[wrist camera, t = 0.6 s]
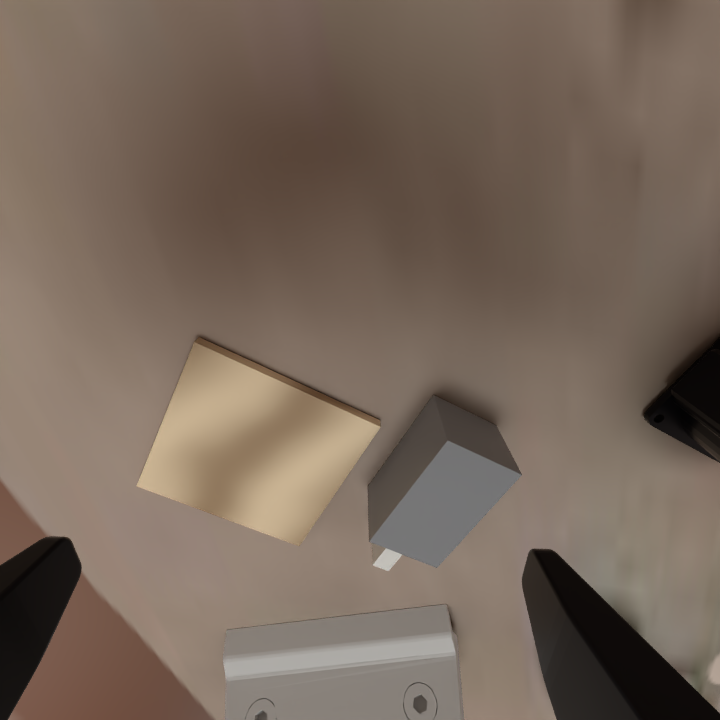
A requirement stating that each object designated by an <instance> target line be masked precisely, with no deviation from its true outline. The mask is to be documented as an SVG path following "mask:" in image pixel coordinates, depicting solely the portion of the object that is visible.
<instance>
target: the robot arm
mask: <svg viewBox="0 0 720 720" xmlns="http://www.w3.org/2000/svg"><path fill="white" fill-rule="evenodd" d="M657 415H658V416H657ZM656 416H657V417H656ZM655 417H656V418H655ZM644 418H645V420H646V421H647V422H648V423H649V424H650V425H651V426H653V427H655V428H657V429H659V430H661V431H662V432H664V433H666V434H668V435H670V436H672V437H673V438H675V439H677V440H679V441H681V442H683V443H684V444H686V445H688V446H690V447H692V448H694V449H696V450H697V451H699V452H701V453H703V454H705V455H707V456H708V457H710V458H712V459H714V460H716V461H718V462H719V463H720V338H719V339H718V340H717V341H716V342H715V343H714V344H713V345H712V346H711V347H710V348H709V349H708V350H707V351H706V352H705V353H704V354H703V355H702V356H701V357H700V358H699V359H698V360H697V361H696V362H695V363H694V364H693V365H692V366H691V367H690V368H689V369H688V370H687V371H686V372H685V373H684V374H683V375H682V376H681V377H680V378H679V379H678V380H677V381H676V382H675V383H674V384H673V385H672V386H671V387H670V388H669V389H668V390H667V391H666V392H665V393H664V394H663V395H662V396H661V397H660V398H659V399H658V400H657V401H656V402H655V403H654V404H653V405H652V406H651V407H650V408H649V409H648V410H647V411H646V412H645V415H644ZM81 569H82V567H81V562H80V560H79V557H78V555H77V553H76V550H75V548H74V545H73V543H72V541H71V540H70V539H69V538H68V537H55V536H50V537H45V538H43V539H41V540H39V541H38V542H36V543H35V544H33V545H31V546H30V547H29V548H27V549H25V550H24V551H22V552H20V553H19V554H17V555H16V556H14V557H13V558H11V559H9V560H8V561H6V562H5V563H3V564H2V565H0V720H8V718H9V717H10V715H11V713H12V711H13V709H14V708H15V706H16V704H17V703H18V701H19V699H20V697H21V696H22V694H23V692H24V690H25V689H26V687H27V685H28V683H29V681H30V680H31V678H32V676H33V674H34V672H35V671H36V669H37V667H38V665H39V663H40V661H41V659H42V657H43V655H44V653H45V651H46V649H47V647H48V645H49V643H50V640H51V638H52V636H53V634H54V632H55V630H56V628H57V625H58V623H59V621H60V619H61V617H62V615H63V612H64V610H65V608H66V606H67V604H68V602H69V599H70V597H71V595H72V593H73V591H74V589H75V587H76V584H77V582H78V580H79V578H80V574H81ZM522 587H523V592H524V597H525V601H526V605H527V610H528V614H529V618H530V623H531V627H532V632H533V636H534V640H535V645H536V649H537V653H538V658H539V662H540V666H541V670H542V674H543V678H544V681H545V685H546V688H547V691H548V694H549V697H550V700H551V703H552V707H553V710H554V713H555V716H556V719H557V720H720V713H719V712H718V711H717V710H716V709H715V708H714V707H713V706H712V705H711V704H710V703H708V702H707V701H706V700H705V699H704V698H703V697H702V696H701V695H700V694H699V693H698V692H697V691H696V690H695V689H694V688H693V687H692V686H691V685H690V684H689V683H688V682H687V681H686V680H685V679H684V678H683V677H682V676H681V675H680V674H679V673H678V672H677V671H676V670H675V669H674V668H673V667H672V666H671V665H670V664H669V663H668V662H667V661H666V660H665V659H664V658H663V657H662V656H661V655H660V654H659V653H658V652H657V651H656V650H655V649H654V648H653V647H652V646H651V645H650V644H649V643H648V642H647V641H646V640H644V639H643V638H642V637H641V636H640V635H639V634H638V633H637V632H636V631H635V630H634V629H633V628H632V627H631V626H630V625H629V624H628V623H627V622H626V621H625V620H624V619H623V618H622V617H621V616H620V615H619V614H618V613H617V612H616V611H615V610H614V609H613V608H612V607H611V606H610V605H609V604H608V603H607V602H606V601H605V600H604V599H603V598H602V597H601V596H600V595H599V594H598V593H597V592H596V591H595V590H594V589H593V588H592V587H591V586H590V585H589V584H588V583H587V582H586V581H585V580H584V579H583V578H581V577H580V576H579V575H578V574H577V573H576V572H575V571H574V570H573V569H572V568H571V567H570V566H569V565H568V564H567V563H566V562H565V561H564V560H563V559H562V558H561V557H560V556H559V555H558V554H557V553H556V552H555V551H553V550H551V549H531V550H530V551H529V554H528V557H527V561H526V565H525V568H524V572H523V576H522Z"/></svg>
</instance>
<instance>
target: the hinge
mask: <svg viewBox="0 0 720 720" xmlns="http://www.w3.org/2000/svg"><path fill="white" fill-rule="evenodd" d="M223 663H224V669H225V675H226V698H225V720H464V712H463V700H462V687H461V675H460V663H459V651H458V639H457V635H456V634H455V633H454V632H453V631H452V626H451V621H450V616H449V610H448V607H447V605H446V604H443V605H435V606H426V607H418V608H409V609H400V610H392V611H383V612H375V613H366V614H358V615H349V616H341V617H332V618H324V619H315V620H306V621H298V622H289V623H281V624H272V625H264V626H255V627H247V628H238V629H230V630H227V632H226V639H225V646H224V653H223Z"/></svg>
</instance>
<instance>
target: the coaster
mask: <svg viewBox="0 0 720 720" xmlns="http://www.w3.org/2000/svg"><path fill="white" fill-rule="evenodd" d="M380 427H381V426H380V420H378V419H376V418H374V417H372V416H369V415H367V414H365V413H363V412H361V411H359V410H356V409H354V408H352V407H350V406H348V405H346V404H343V403H341V402H339V401H337V400H335V399H332V398H330V397H328V396H326V395H324V394H322V393H319V392H317V391H315V390H313V389H311V388H309V387H306V386H304V385H302V384H300V383H298V382H295V381H293V380H291V379H289V378H287V377H285V376H282V375H280V374H278V373H276V372H274V371H272V370H269V369H267V368H265V367H263V366H261V365H259V364H256V363H254V362H252V361H250V360H248V359H245V358H243V357H241V356H239V355H237V354H235V353H232V352H230V351H228V350H226V349H224V348H222V347H219V346H217V345H215V344H213V343H211V342H208V341H206V340H204V339H202V338H200V337H198V339H197V340H196V341H195V342H194V344H193V346H192V349H191V351H190V354H189V356H188V359H187V361H186V364H185V366H184V369H183V371H182V374H181V376H180V379H179V381H178V384H177V386H176V389H175V391H174V394H173V396H172V399H171V402H170V404H169V407H168V409H167V412H166V414H165V417H164V419H163V422H162V424H161V427H160V429H159V432H158V434H157V437H156V439H155V442H154V444H153V447H152V449H151V452H150V454H149V457H148V459H147V462H146V464H145V467H144V469H143V472H142V474H141V477H140V479H139V482H138V484H137V487H140V488H143V489H145V490H148V491H151V492H153V493H156V494H159V495H162V496H164V497H167V498H170V499H172V500H175V501H178V502H181V503H183V504H186V505H189V506H191V507H194V508H197V509H200V510H202V511H205V512H208V513H210V514H213V515H216V516H219V517H221V518H224V519H227V520H229V521H232V522H235V523H238V524H240V525H243V526H246V527H248V528H251V529H254V530H257V531H259V532H262V533H265V534H267V535H270V536H273V537H276V538H278V539H281V540H284V541H286V542H289V543H292V544H295V545H297V546H300V544H301V543H302V541H303V540H304V538H305V537H306V535H307V534H308V533H309V531H310V530H311V528H312V527H313V525H314V524H315V522H316V521H317V519H318V518H319V516H320V515H321V514H322V512H323V511H324V509H325V508H326V506H327V505H328V503H329V502H330V500H331V499H332V497H333V496H334V494H335V493H336V492H337V490H338V489H339V487H340V486H341V484H342V483H343V481H344V480H345V478H346V477H347V475H348V474H349V473H350V471H351V470H352V468H353V467H354V465H355V464H356V462H357V461H358V459H359V458H360V456H361V455H362V453H363V452H364V451H365V449H366V448H367V446H368V445H369V443H370V442H371V440H372V439H373V437H374V436H375V434H376V433H377V432H378V430H379V429H380Z"/></svg>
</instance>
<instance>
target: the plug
mask: <svg viewBox="0 0 720 720" xmlns="http://www.w3.org/2000/svg"><path fill="white" fill-rule="evenodd" d="M521 475H522V474H521V472H520V470H519V468H518V466H517V464H516V462H515V461H514V459H513V457H512V455H511V453H510V451H509V449H508V447H507V445H506V443H505V441H504V439H503V437H502V435H501V434H500V432H499V430H498V428H497V426H496V425H494V424H492V423H490V422H488V421H486V420H484V419H482V418H480V417H478V416H476V415H474V414H472V413H470V412H468V411H466V410H463V409H461V408H459V407H457V406H455V405H453V404H451V403H449V402H447V401H445V400H443V399H441V398H439V397H437V396H435V395H433V396H432V397H431V399H430V400H429V402H428V403H427V404H426V406H425V407H424V408H423V410H422V411H421V413H420V414H419V415H418V417H417V418H416V420H415V421H414V422H413V424H412V425H411V427H410V428H409V429H408V431H407V432H406V434H405V435H404V436H403V438H402V439H401V441H400V442H399V443H398V445H397V446H396V448H395V449H394V450H393V452H392V453H391V455H390V456H389V457H388V459H387V460H386V461H385V463H384V464H383V466H382V467H381V468H380V470H379V471H378V473H377V474H376V475H375V477H374V478H373V480H372V481H371V482H370V484H369V485H368V521H369V542H371V543H372V565H373V566H376V567H379V568H381V569H384V570H387V571H389V570H390V569H391V567H392V566H393V565H394V564H395V563H396V561H397V560H398V559H399V558H400V557H401V556H402V555H405V556H407V557H410V558H413V559H415V560H418V561H420V562H423V563H426V564H428V565H431V566H433V567H436V568H437V567H438V566H439V565H440V564H441V563H442V562H443V561H444V560H445V558H446V557H447V556H448V555H449V554H450V553H451V552H452V551H453V550H454V549H455V547H456V546H457V545H458V544H459V543H460V542H461V541H462V540H463V539H464V538H465V537H466V535H467V534H468V533H469V532H470V531H471V530H472V529H473V528H474V527H475V526H476V525H477V523H478V522H479V521H480V520H481V519H482V518H483V517H484V516H485V515H486V514H487V512H488V511H489V510H490V509H491V508H492V507H493V506H494V505H495V504H496V503H497V502H498V500H499V499H500V498H501V497H502V496H503V495H504V494H505V493H506V492H507V491H508V490H509V488H510V487H511V486H512V485H513V484H514V483H515V482H516V481H517V480H518V479H519V477H520V476H521Z"/></svg>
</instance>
